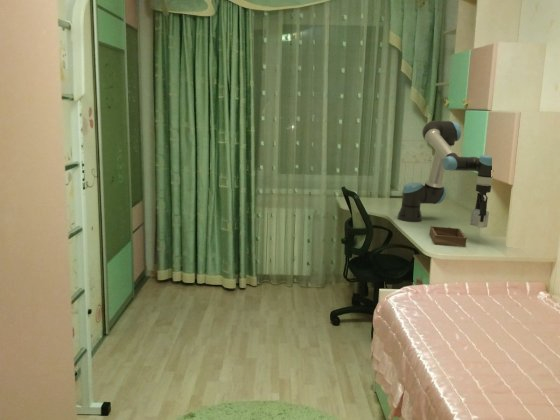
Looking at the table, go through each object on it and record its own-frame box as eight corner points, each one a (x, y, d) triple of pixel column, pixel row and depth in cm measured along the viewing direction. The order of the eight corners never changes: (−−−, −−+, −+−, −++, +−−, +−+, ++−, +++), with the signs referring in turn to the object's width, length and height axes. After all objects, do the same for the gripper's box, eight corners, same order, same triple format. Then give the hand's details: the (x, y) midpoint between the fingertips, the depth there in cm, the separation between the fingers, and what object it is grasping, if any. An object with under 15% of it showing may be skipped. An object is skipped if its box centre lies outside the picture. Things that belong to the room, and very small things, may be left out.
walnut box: (429, 234, 304) (430, 226, 303) (458, 237, 302) (459, 228, 301) (434, 244, 283) (435, 235, 282) (465, 247, 280) (466, 238, 279)
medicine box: (487, 227, 288) (489, 211, 286) (482, 228, 286) (484, 212, 284) (474, 224, 294) (476, 208, 293) (469, 224, 292) (471, 209, 290)
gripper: (496, 187, 275) (490, 230, 279) (486, 182, 295) (481, 222, 300) (480, 186, 276) (475, 229, 280) (472, 181, 296) (467, 221, 301)
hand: (478, 225), depth 290 cm, fingers closed on medicine box, 8 cm apart
